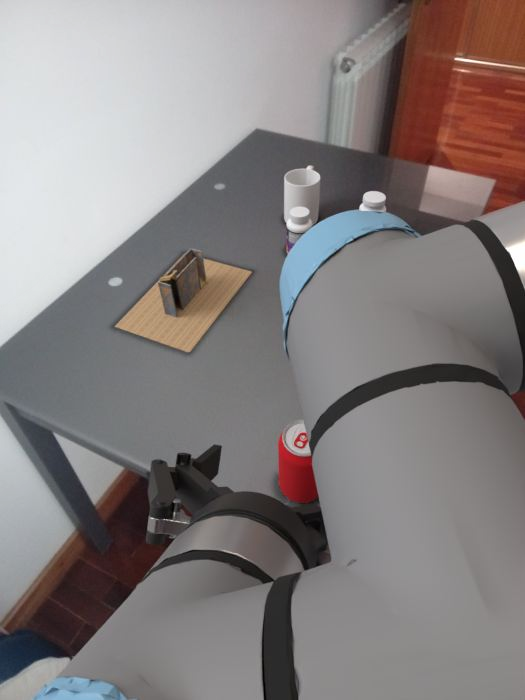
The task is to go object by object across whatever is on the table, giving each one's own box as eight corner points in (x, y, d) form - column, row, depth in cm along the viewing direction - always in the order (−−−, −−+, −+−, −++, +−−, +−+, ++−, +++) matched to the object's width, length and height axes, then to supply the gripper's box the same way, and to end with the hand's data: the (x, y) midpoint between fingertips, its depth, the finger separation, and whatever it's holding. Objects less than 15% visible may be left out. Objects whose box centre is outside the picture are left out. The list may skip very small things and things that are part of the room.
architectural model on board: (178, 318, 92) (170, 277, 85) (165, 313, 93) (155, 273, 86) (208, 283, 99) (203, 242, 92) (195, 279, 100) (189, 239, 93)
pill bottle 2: (350, 236, 109) (354, 195, 102) (367, 227, 112) (373, 186, 104) (369, 247, 106) (375, 206, 99) (386, 237, 108) (394, 196, 101)
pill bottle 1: (292, 241, 108) (292, 202, 101) (314, 247, 107) (317, 207, 100) (282, 255, 105) (282, 215, 98) (305, 261, 103) (307, 221, 96)
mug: (312, 231, 111) (315, 188, 103) (279, 225, 113) (279, 183, 105) (326, 204, 119) (329, 162, 111) (294, 199, 121) (295, 158, 113)
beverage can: (330, 477, 69) (337, 428, 60) (311, 513, 65) (315, 467, 57) (291, 457, 71) (293, 408, 63) (270, 492, 68) (268, 445, 59)
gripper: (1, 603, 26) (154, 486, 47) (489, 730, 22) (420, 540, 43) (17, 466, 26) (164, 409, 47) (516, 569, 22) (433, 457, 43)
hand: (287, 472), depth 45 cm, fingers open, 13 cm apart
